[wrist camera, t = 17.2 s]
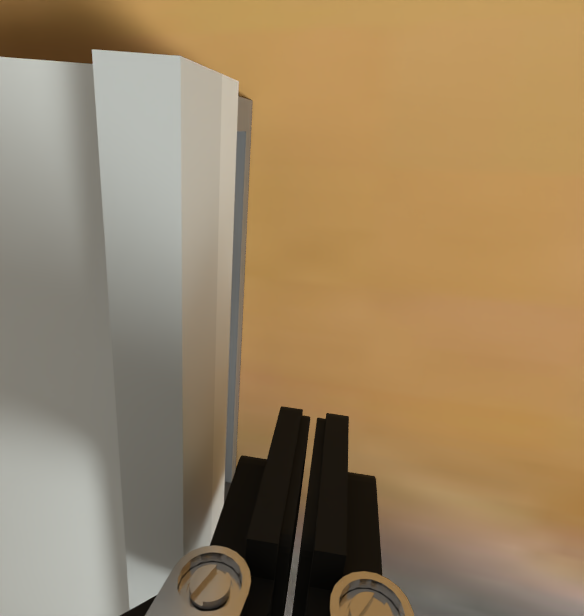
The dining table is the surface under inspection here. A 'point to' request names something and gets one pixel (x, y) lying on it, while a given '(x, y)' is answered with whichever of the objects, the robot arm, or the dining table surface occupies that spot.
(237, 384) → the housing
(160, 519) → the lid
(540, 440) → the dining table surface
